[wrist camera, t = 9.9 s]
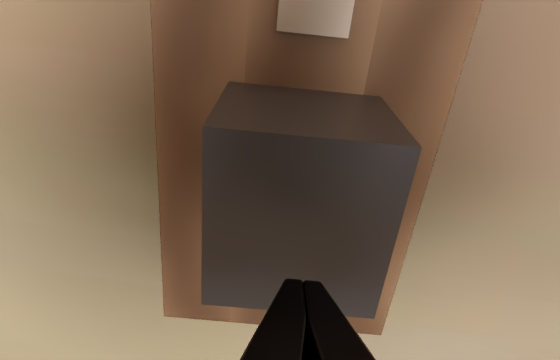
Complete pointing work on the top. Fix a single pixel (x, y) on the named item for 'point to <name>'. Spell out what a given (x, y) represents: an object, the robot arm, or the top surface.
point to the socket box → (295, 74)
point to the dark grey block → (301, 194)
